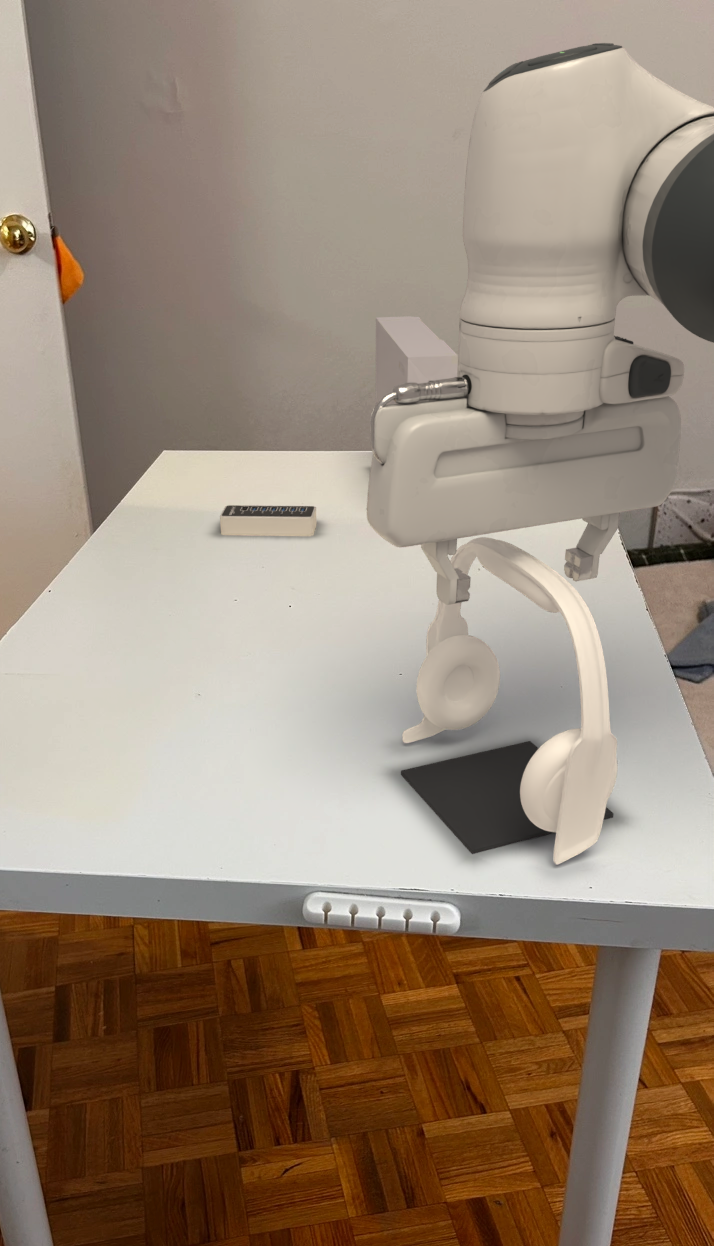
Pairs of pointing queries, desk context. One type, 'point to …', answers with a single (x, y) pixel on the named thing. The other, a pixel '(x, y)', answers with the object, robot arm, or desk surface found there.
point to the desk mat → (480, 796)
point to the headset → (469, 682)
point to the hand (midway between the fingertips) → (517, 588)
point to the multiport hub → (268, 520)
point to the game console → (409, 354)
